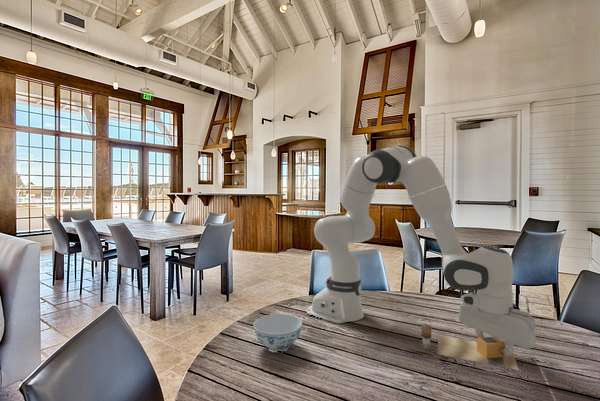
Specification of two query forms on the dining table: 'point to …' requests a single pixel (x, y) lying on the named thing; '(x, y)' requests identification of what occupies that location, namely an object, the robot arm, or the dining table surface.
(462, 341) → the panel
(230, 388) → the dining table surface
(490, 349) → the orange box
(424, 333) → the brown goblet
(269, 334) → the chinaware
